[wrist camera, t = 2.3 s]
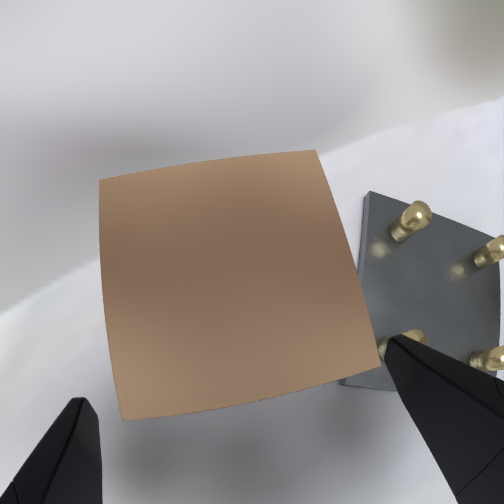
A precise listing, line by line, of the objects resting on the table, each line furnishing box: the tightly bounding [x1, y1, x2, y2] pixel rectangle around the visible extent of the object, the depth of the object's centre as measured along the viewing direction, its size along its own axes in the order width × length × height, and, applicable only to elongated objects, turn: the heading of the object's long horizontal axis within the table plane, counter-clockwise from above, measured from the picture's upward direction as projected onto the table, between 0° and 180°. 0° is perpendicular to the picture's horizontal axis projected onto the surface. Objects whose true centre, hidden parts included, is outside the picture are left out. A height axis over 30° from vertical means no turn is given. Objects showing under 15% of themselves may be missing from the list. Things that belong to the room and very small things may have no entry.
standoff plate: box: [340, 191, 504, 391], centre depth 18 cm, size 13×13×4 cm
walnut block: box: [99, 150, 381, 421], centre depth 12 cm, size 5×5×13 cm
